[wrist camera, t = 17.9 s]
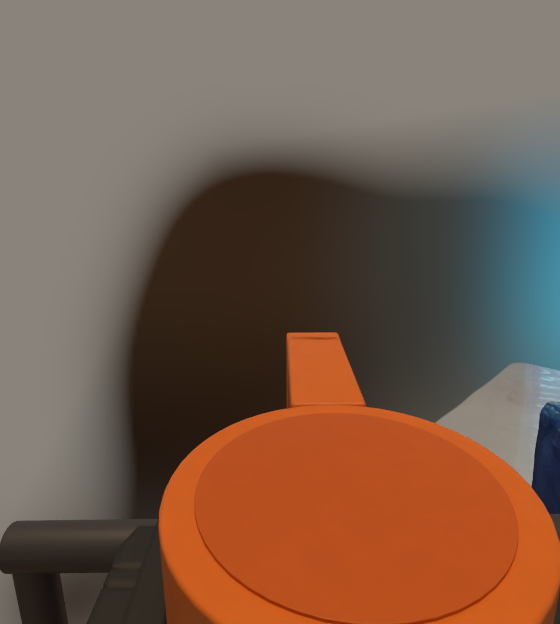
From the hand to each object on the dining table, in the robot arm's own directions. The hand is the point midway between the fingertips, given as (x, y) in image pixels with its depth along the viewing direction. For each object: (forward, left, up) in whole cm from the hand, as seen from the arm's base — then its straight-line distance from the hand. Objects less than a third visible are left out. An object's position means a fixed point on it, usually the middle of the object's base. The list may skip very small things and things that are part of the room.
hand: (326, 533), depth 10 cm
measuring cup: (0, 0, -6) cm, 6 cm away
